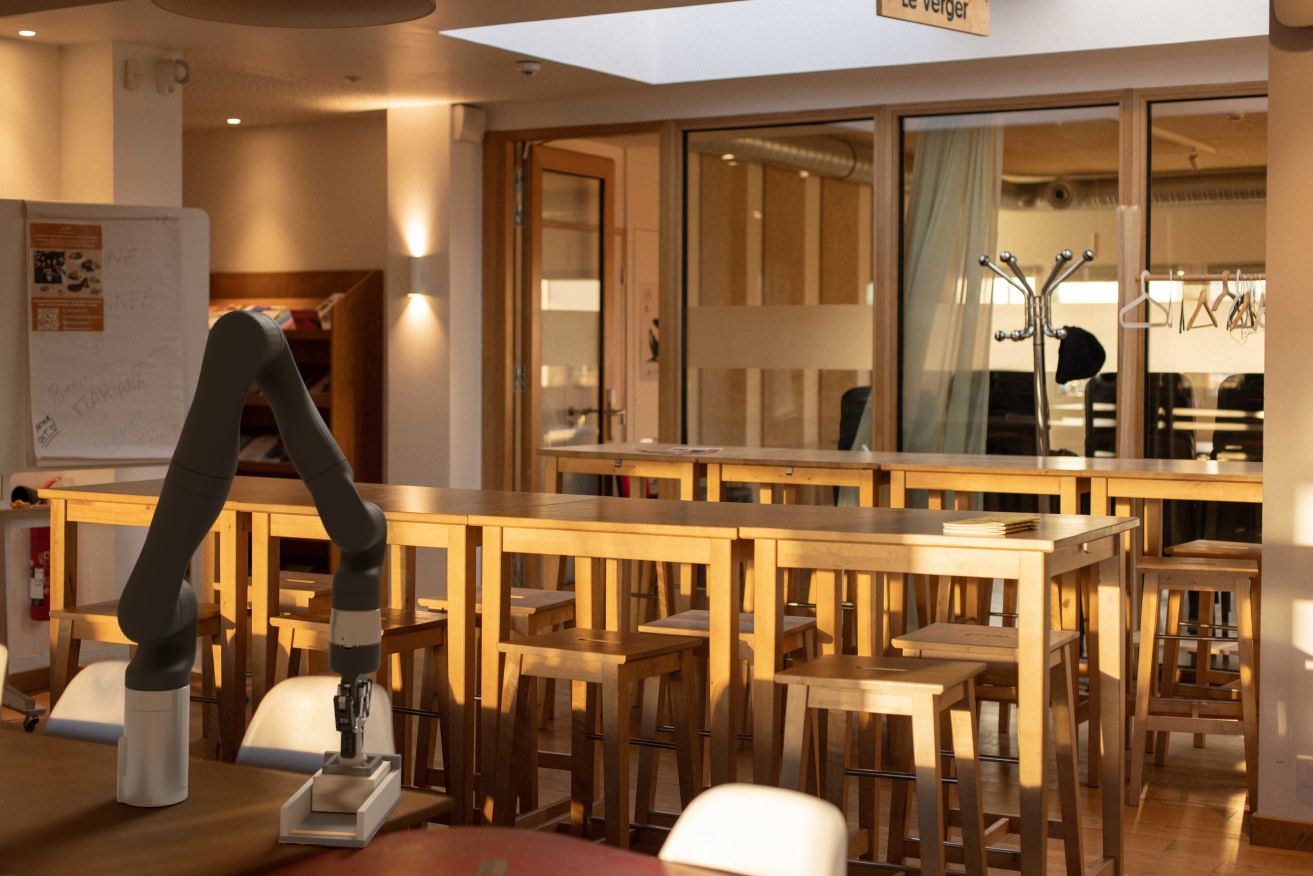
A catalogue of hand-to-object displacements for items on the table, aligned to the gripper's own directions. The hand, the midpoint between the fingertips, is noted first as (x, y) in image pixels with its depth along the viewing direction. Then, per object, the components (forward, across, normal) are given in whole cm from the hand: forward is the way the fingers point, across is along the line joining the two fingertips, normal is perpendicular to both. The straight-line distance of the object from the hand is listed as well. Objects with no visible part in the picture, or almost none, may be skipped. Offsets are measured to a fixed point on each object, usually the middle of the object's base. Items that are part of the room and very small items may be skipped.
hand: (351, 753), depth 212 cm
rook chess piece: (+2, 0, 0) cm, 2 cm away
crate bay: (+9, +4, 0) cm, 10 cm away
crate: (+7, 0, 0) cm, 7 cm away
